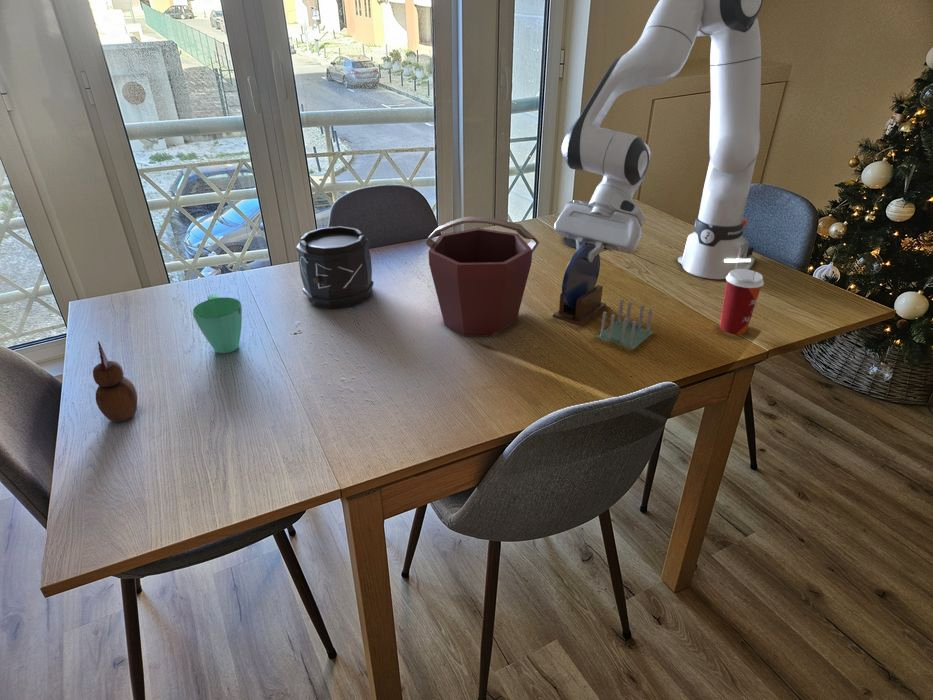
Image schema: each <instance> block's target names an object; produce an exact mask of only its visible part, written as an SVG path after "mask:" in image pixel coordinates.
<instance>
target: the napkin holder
mask: <svg viewBox="0 0 933 700" xmlns="http://www.w3.org/2000/svg"><path fill="white" fill-rule="evenodd" d="M603 286H604V285H600V284H597V285H595V288H593V289H591V290H590V291H588V292H587V293H585V294H584V295H582V296H581V297H579V298H578V299H577V302H576V309H572V308H569V307H567V306H566V305H565V304H564V302H563V298H562V292H561V293H560V295H559V307H558V310H557V311H556V312H555V313H553V314H552V317H553V318H556V319H558V320H562V321H564V322H568V323H571V324H572V325H573V324H574V325H577V326H581V324H583V323H584V322H585V321H587V320H588V319H590V318H591V317H593V316H594V315H595V314H597V313H598V312H600V311H601V310H603V308H605V307H606V306H607V303H606V302H602V297H603V290H604V289H603V288H604V287H603Z"/></svg>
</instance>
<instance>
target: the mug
mask: <svg viewBox="0 0 933 700" xmlns="http://www.w3.org/2000/svg"><path fill="white" fill-rule="evenodd" d="M242 308H243V307H242V302H241V301H240V300H239V299H237V298H234V297H220V296H219V294H217V293H213V294H212V293H211V294H210V295H208V296H207V300H204V301H202V302H200V303H198V304H196V305H195V306H194V308H192V316H193V318H194V320H195V322H196V325H197V327H198V328H199V329H200V331H201V333H202V335H203V336H204V338H205V339H206V340H207V342H208V344H209V345H210V346H211V347H212V348H213V350H214V351H215V352H216V353H218V354H229V353H232V352H234V351H235V352H236V350H237V349H238V348H239V345H240V340H241V335H242V325H243V324H242V323H243V322H242V321H243V320H242V319H243V309H242Z"/></svg>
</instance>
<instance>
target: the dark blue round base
mask: <svg viewBox="0 0 933 700" xmlns="http://www.w3.org/2000/svg"><path fill="white" fill-rule="evenodd" d="M563 243H564V244H565V245H566V246H567V247H570V248H572V249H575V250H577V248H576V240H574V239H571V238H567V237H563ZM585 245H590V246H593V247H596V246H595V245H594V244H590V243H585ZM606 249H608V248H605V247H604V249H603V250H606Z"/></svg>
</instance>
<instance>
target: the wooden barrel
mask: <svg viewBox="0 0 933 700" xmlns="http://www.w3.org/2000/svg"><path fill="white" fill-rule="evenodd" d="M370 243H371V242H370V240H369V239H368V237H366V236H365V233H364V232H362V231H361V230H359V229H358V228H355V227H349V226H341V225H338V226H328V227H327V226H326V227H319V228H316V229H314V230H310V231H308V232H307V231H306V232H305V233H304V234H303V236H302V237H300V239H299V243H298V244H297V245H296V247H295V251H296V252H298V267H299V272H300V278H301V281H302V285H303V288H302V293H303V294H304V295H305V297H307V298H308V300H309V301H310V302H311V303H312V304H313V305H314V306H316V307H321V308H326V309H331V310H332V309H333V310H334V309H341V308H349V307H354V306H356V305H357V304H361V303H362V302H364V301H367V299H368V297H369V296H370V293H371V290H372V289H373V287H374V281H373V279H372V277H373V276H372V275H373V267H372V257H371V251H370V247H369V246H370Z"/></svg>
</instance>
